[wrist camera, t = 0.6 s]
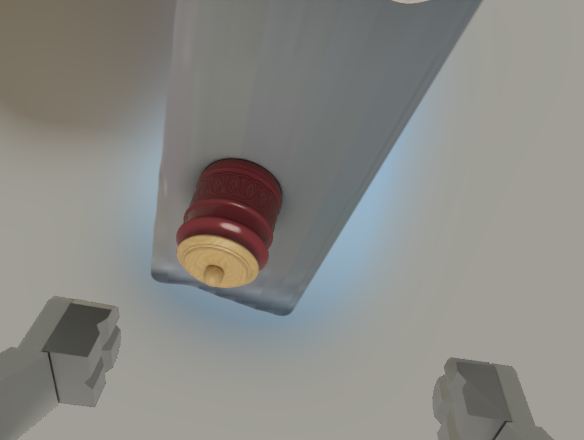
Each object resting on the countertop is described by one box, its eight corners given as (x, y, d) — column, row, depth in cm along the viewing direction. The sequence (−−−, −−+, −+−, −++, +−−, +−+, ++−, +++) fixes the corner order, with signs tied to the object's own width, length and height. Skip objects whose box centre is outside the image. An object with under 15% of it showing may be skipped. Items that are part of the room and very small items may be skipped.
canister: (234, 142, 71) (198, 240, 59) (301, 194, 76) (279, 292, 65) (184, 182, 79) (144, 276, 67) (247, 227, 84) (220, 320, 73)
